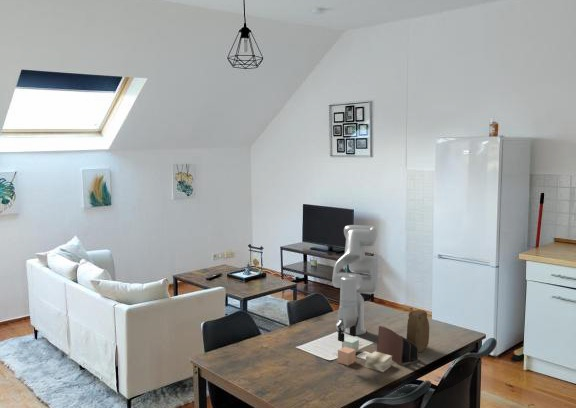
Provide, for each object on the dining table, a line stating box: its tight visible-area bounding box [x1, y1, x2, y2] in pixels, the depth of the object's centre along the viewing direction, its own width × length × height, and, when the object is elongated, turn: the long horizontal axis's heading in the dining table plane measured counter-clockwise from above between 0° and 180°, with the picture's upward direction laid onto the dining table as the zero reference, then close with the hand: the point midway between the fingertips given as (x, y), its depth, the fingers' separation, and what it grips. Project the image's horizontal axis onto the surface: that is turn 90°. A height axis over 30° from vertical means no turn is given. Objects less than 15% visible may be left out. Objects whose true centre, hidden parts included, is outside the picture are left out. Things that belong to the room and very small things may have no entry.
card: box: [355, 350, 371, 361], centre depth 262 cm, size 8×8×1 cm
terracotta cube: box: [337, 347, 357, 366], centre depth 255 cm, size 6×6×6 cm
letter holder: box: [376, 325, 419, 367], centre depth 262 cm, size 10×20×14 cm, turn 25°
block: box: [406, 309, 430, 353], centre depth 271 cm, size 11×8×20 cm
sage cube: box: [341, 336, 360, 353], centre depth 268 cm, size 6×6×6 cm
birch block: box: [365, 350, 393, 373], centre depth 251 cm, size 9×9×5 cm
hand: (347, 338), depth 254 cm, fingers open, 9 cm apart
